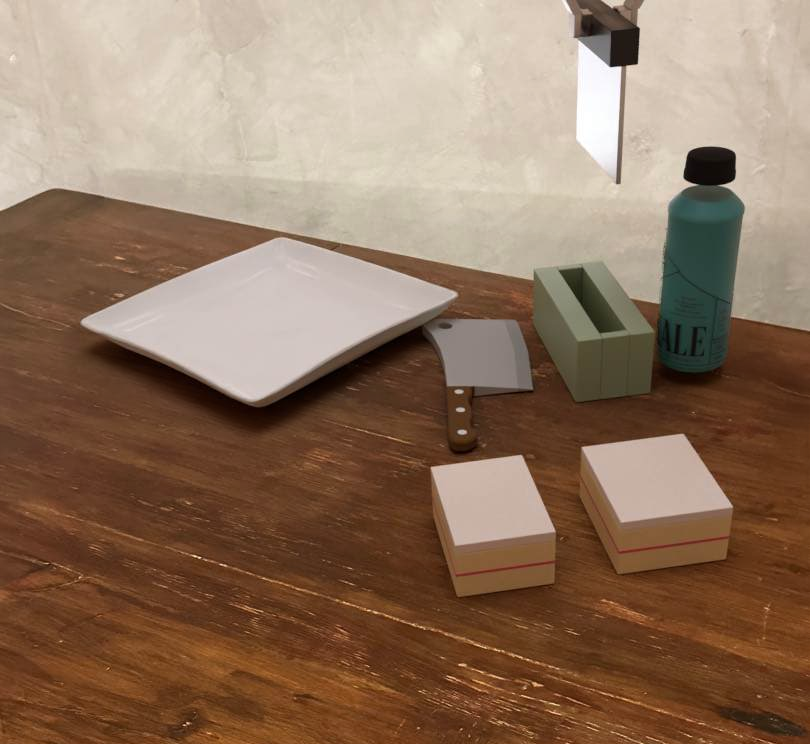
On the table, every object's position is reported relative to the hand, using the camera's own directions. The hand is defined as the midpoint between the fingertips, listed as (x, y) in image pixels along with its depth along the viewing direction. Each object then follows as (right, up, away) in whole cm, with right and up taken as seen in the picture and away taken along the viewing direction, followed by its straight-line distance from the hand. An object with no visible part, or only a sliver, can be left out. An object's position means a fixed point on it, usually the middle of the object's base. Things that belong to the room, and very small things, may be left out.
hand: (602, 34), depth 89 cm
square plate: (-29, -20, +24) cm, 43 cm away
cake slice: (-9, -41, -6) cm, 42 cm away
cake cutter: (+1, -8, +6) cm, 10 cm away
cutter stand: (+2, -23, +17) cm, 28 cm away
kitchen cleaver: (-9, -26, +15) cm, 31 cm away
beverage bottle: (+10, -25, +14) cm, 30 cm away
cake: (+3, -39, -5) cm, 39 cm away
